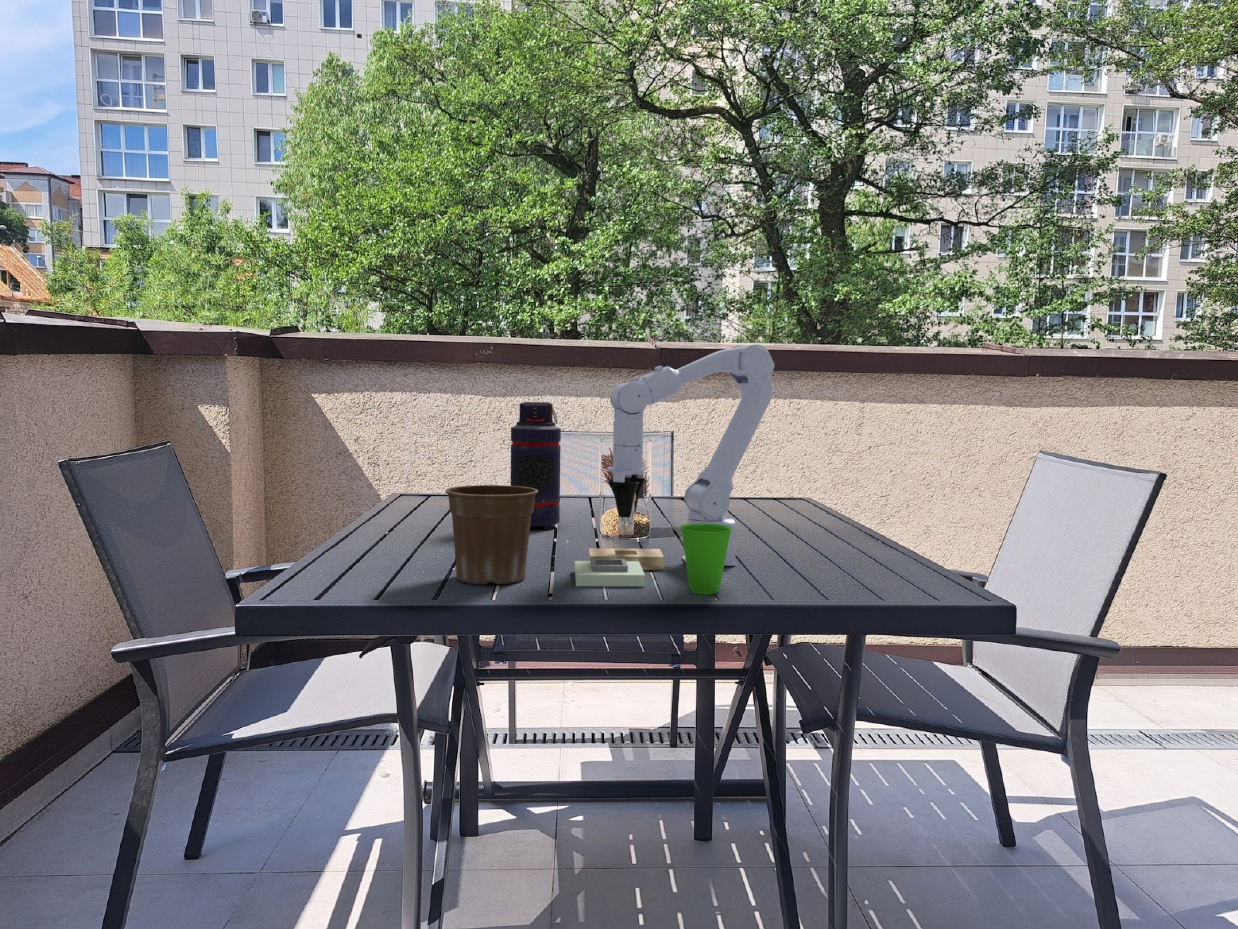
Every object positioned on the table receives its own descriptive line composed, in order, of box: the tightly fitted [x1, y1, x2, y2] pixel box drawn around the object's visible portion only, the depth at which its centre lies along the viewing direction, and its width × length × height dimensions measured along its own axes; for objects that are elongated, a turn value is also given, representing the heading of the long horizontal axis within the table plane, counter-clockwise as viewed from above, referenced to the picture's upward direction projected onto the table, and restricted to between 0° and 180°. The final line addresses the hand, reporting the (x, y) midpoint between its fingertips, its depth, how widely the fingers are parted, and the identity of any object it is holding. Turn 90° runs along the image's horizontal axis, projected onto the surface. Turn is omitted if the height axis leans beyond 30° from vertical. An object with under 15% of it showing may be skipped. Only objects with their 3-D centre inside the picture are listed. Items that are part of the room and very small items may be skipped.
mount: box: [588, 547, 665, 571], centre depth 176 cm, size 14×8×2 cm, turn 94°
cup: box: [679, 523, 733, 595], centre depth 156 cm, size 9×9×11 cm
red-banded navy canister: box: [510, 401, 562, 531], centre depth 219 cm, size 14×12×30 cm
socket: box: [574, 559, 646, 587], centre depth 164 cm, size 12×12×3 cm
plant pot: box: [445, 484, 538, 585], centre depth 162 cm, size 16×16×16 cm
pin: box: [617, 493, 636, 536], centre depth 175 cm, size 3×3×8 cm
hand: (626, 515), depth 175 cm, fingers closed on pin, 3 cm apart
